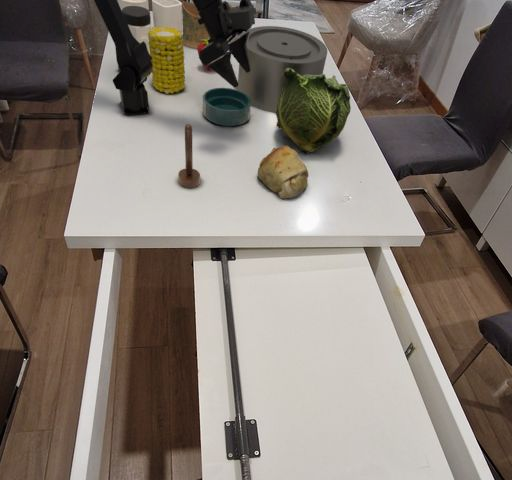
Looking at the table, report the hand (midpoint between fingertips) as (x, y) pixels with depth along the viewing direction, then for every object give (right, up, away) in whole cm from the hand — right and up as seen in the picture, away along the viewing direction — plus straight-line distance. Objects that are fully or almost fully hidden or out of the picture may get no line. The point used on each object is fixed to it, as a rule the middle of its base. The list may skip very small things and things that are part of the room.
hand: (242, 79), depth 101 cm
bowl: (-5, +1, +18) cm, 19 cm away
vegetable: (+17, -8, +15) cm, 24 cm away
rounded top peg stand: (-13, -26, -2) cm, 28 cm away
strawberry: (-12, +24, +33) cm, 43 cm away
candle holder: (-37, +38, +40) cm, 66 cm away
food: (-23, +13, +24) cm, 36 cm away
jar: (-34, +28, +33) cm, 55 cm away
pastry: (+9, -24, +3) cm, 26 cm away
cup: (-25, +29, +35) cm, 52 cm away
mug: (-14, +41, +45) cm, 63 cm away
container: (+10, +15, +30) cm, 34 cm away
